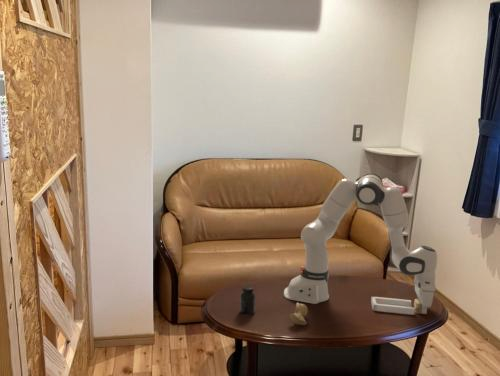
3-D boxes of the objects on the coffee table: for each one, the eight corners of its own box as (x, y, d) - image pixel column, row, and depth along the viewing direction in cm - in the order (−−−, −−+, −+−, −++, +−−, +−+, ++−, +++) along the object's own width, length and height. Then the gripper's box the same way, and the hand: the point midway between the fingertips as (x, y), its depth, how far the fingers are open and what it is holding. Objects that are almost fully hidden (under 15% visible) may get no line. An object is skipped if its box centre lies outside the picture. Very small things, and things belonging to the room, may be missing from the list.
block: (415, 313, 215) (416, 303, 214) (413, 308, 220) (414, 298, 219) (426, 314, 214) (427, 304, 213) (424, 309, 219) (425, 300, 218)
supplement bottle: (247, 307, 214) (248, 283, 212) (257, 312, 209) (258, 287, 207) (236, 311, 209) (237, 286, 207) (246, 316, 204) (247, 291, 202)
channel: (373, 310, 216) (373, 304, 215) (371, 302, 225) (371, 296, 224) (413, 314, 213) (414, 308, 212) (410, 306, 222) (410, 300, 221)
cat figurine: (289, 313, 196) (296, 295, 206) (285, 324, 200) (292, 306, 210) (307, 321, 195) (313, 302, 205) (303, 332, 199) (309, 313, 209)
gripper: (413, 271, 224) (410, 298, 227) (421, 288, 205) (418, 316, 207) (426, 273, 224) (423, 299, 226) (436, 289, 204) (433, 318, 206)
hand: (421, 308), depth 216 cm, fingers open, 8 cm apart
